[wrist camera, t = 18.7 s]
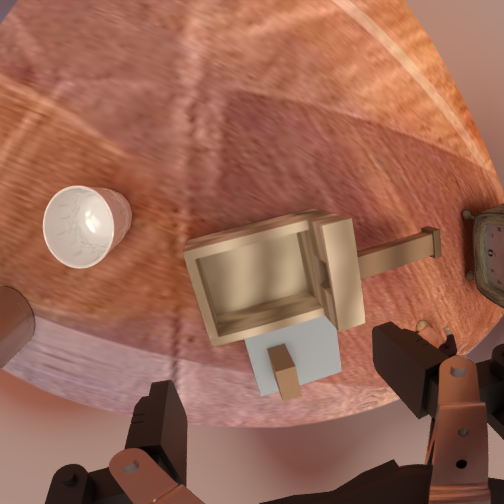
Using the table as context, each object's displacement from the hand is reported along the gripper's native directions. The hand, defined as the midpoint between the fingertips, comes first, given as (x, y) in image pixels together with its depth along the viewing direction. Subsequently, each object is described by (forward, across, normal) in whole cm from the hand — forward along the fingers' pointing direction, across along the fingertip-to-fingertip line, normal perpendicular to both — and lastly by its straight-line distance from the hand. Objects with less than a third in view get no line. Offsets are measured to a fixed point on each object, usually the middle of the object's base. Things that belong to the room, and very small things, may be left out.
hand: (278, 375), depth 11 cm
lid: (+29, -6, +18) cm, 34 cm away
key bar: (+20, -17, +3) cm, 27 cm away
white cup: (+29, +14, -7) cm, 33 cm away
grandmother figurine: (+28, -27, +22) cm, 45 cm away
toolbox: (+28, -4, +4) cm, 29 cm away
